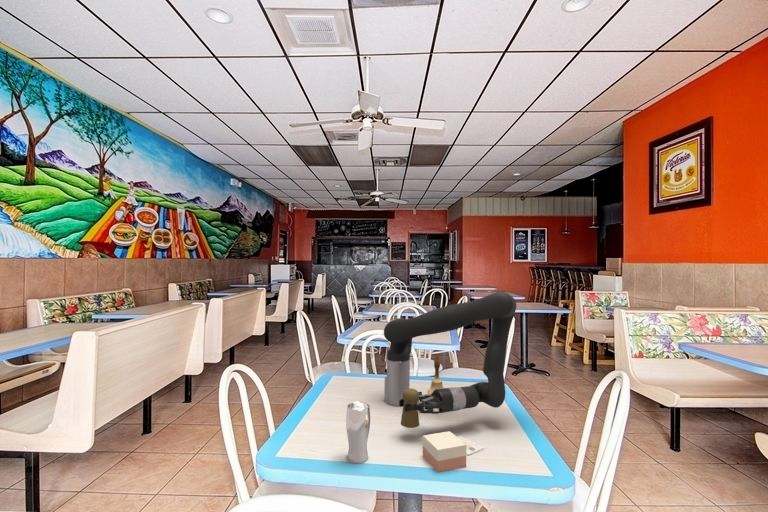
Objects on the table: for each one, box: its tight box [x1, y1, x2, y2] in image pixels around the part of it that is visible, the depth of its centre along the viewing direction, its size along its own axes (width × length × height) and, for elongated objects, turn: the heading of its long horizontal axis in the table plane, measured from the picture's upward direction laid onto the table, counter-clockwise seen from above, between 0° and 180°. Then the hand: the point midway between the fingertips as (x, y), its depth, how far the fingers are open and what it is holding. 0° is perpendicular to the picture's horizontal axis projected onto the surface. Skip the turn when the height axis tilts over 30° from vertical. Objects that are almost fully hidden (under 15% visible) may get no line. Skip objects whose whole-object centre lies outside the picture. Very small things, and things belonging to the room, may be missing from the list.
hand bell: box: [426, 355, 444, 395], centre depth 167 cm, size 8×8×16 cm
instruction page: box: [457, 435, 485, 457], centre depth 120 cm, size 10×7×1 cm
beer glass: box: [345, 401, 371, 465], centre depth 111 cm, size 7×7×15 cm
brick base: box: [422, 430, 467, 473], centre depth 110 cm, size 9×9×6 cm
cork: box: [400, 387, 420, 429], centre depth 124 cm, size 6×6×11 cm
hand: (402, 405), depth 124 cm, fingers closed on cork, 3 cm apart
